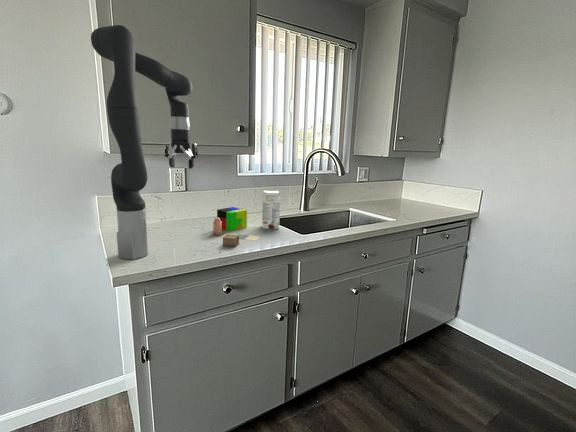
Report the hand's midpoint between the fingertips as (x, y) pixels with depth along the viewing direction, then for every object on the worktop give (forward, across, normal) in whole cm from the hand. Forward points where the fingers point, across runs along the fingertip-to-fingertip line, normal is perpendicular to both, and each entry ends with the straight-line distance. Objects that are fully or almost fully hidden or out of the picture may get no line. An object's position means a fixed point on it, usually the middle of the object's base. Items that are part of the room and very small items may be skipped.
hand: (181, 167), depth 139 cm
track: (+30, +23, +3) cm, 38 cm away
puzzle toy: (+30, +16, +17) cm, 38 cm away
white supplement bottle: (+30, +33, +24) cm, 51 cm away
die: (+30, +26, -9) cm, 41 cm away
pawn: (+29, +15, +3) cm, 33 cm away
